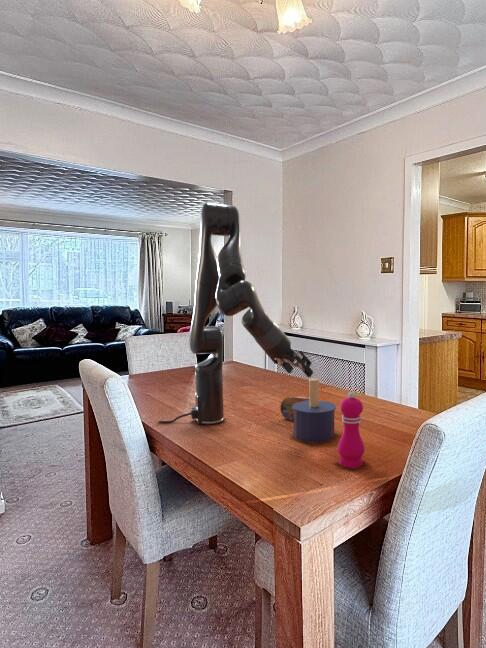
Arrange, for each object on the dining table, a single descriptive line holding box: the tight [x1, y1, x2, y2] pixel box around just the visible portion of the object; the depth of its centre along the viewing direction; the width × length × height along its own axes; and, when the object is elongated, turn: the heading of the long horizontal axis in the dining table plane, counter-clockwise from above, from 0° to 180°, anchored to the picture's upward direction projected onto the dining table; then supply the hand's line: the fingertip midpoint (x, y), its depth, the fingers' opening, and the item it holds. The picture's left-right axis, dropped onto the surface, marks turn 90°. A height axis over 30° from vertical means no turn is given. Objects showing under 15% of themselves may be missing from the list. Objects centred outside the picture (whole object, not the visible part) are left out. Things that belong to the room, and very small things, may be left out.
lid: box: [293, 377, 337, 414], centre depth 142 cm, size 14×14×10 cm
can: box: [293, 410, 335, 443], centre depth 144 cm, size 13×13×9 cm
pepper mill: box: [337, 391, 366, 469], centre depth 121 cm, size 7×7×20 cm
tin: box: [279, 395, 309, 422], centre depth 160 cm, size 15×3×8 cm, turn 68°
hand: (300, 372), depth 138 cm, fingers open, 8 cm apart
